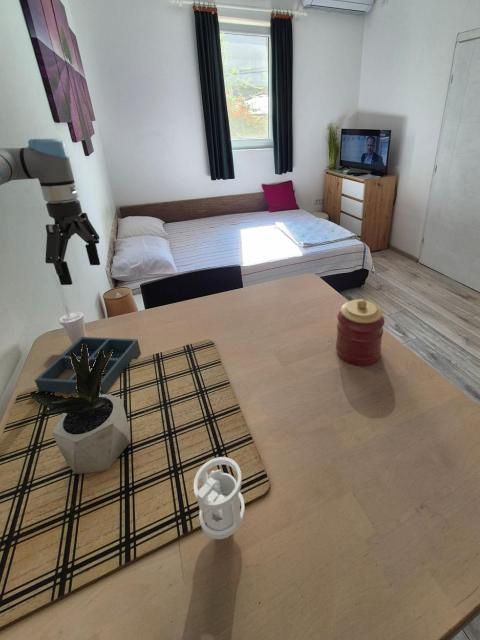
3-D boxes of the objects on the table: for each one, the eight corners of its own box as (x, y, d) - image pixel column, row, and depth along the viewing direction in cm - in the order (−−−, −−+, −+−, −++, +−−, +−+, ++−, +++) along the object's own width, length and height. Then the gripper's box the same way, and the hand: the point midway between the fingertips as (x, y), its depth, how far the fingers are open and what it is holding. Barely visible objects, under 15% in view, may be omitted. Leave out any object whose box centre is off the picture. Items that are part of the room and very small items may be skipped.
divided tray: (40, 395, 82) (34, 380, 80) (86, 350, 98) (81, 336, 96) (105, 399, 81) (100, 384, 79) (141, 353, 97) (137, 339, 95)
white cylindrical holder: (195, 540, 53) (182, 481, 48) (225, 501, 59) (217, 444, 53) (226, 570, 50) (216, 510, 44) (255, 526, 55) (250, 467, 49)
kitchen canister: (389, 359, 93) (397, 306, 86) (350, 372, 88) (354, 317, 81) (363, 334, 104) (368, 285, 97) (327, 344, 99) (330, 293, 93)
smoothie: (69, 340, 103) (56, 301, 98) (92, 334, 105) (81, 297, 100) (66, 352, 98) (52, 312, 92) (90, 346, 100) (78, 307, 95)
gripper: (42, 211, 74) (67, 294, 82) (102, 192, 97) (116, 257, 105) (10, 211, 74) (37, 294, 82) (77, 192, 97) (93, 258, 105)
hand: (82, 274), depth 93 cm, fingers open, 13 cm apart
